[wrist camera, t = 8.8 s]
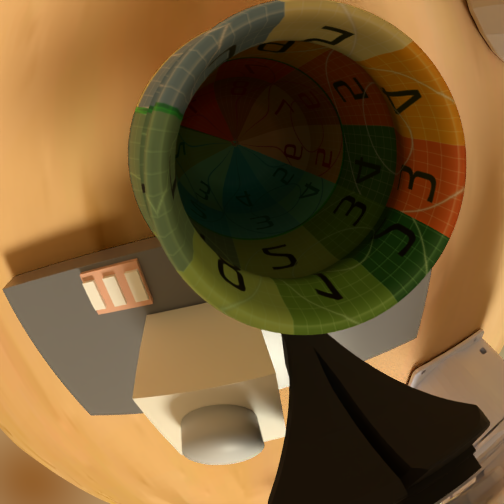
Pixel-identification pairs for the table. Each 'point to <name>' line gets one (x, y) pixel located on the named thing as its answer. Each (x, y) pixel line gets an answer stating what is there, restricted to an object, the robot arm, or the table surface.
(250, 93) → the jar
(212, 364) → the selector knob
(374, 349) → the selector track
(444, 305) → the table surface
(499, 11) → the water bottle
